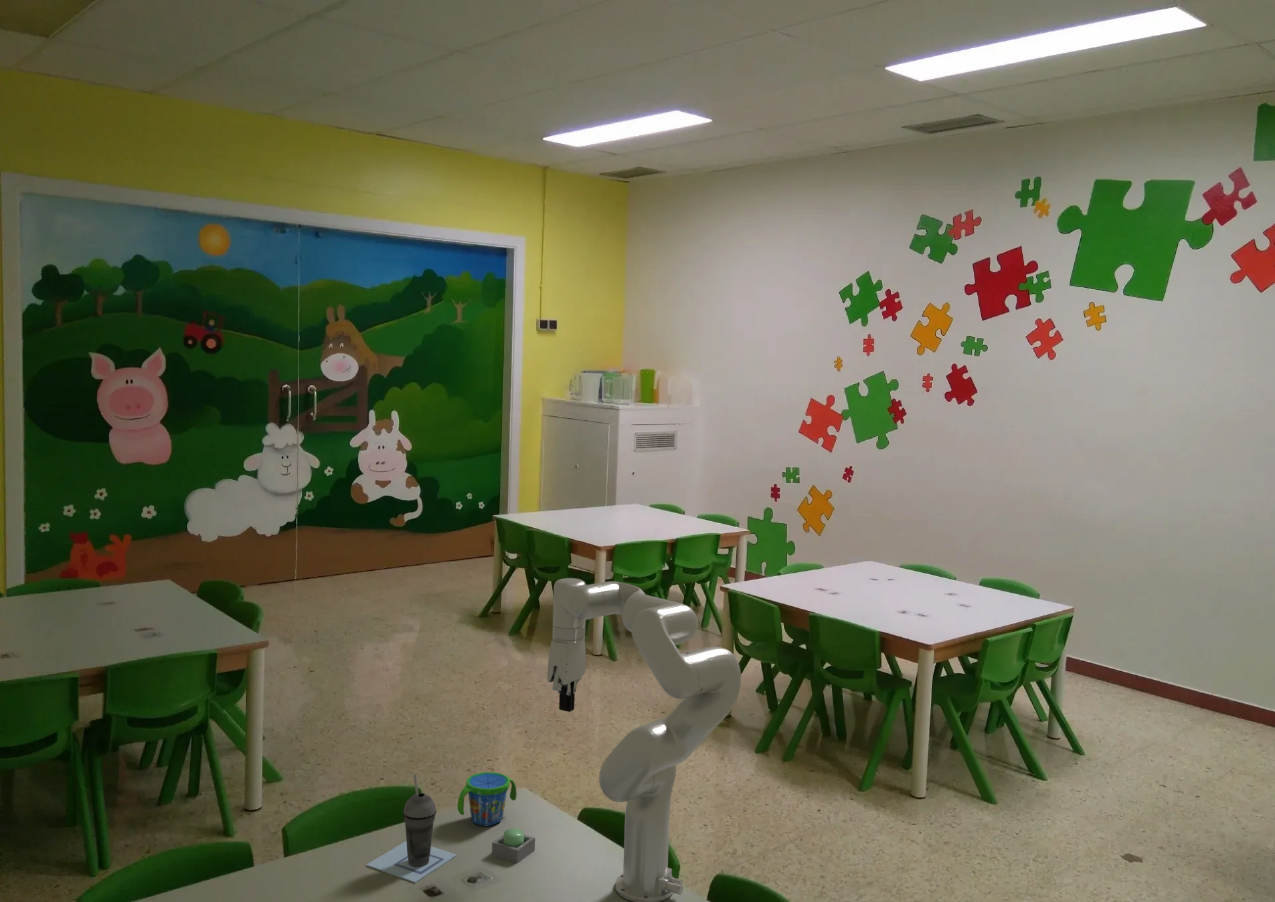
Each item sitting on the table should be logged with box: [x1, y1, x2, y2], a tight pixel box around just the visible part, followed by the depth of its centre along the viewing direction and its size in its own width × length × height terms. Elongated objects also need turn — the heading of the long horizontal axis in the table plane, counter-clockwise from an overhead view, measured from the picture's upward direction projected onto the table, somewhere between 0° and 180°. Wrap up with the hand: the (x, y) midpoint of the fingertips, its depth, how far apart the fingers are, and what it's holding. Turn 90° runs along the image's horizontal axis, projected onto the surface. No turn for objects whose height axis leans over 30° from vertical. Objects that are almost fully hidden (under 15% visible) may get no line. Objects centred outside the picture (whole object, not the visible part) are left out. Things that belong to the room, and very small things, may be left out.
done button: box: [503, 828, 525, 848], centre depth 225 cm, size 5×5×4 cm
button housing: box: [491, 834, 536, 864], centre depth 225 cm, size 7×7×3 cm
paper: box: [365, 840, 458, 884], centre depth 220 cm, size 14×14×1 cm
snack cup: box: [456, 771, 518, 827], centre depth 240 cm, size 16×10×10 cm
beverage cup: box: [402, 774, 437, 867], centre depth 218 cm, size 7×7×20 cm
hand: (566, 709), depth 228 cm, fingers closed
